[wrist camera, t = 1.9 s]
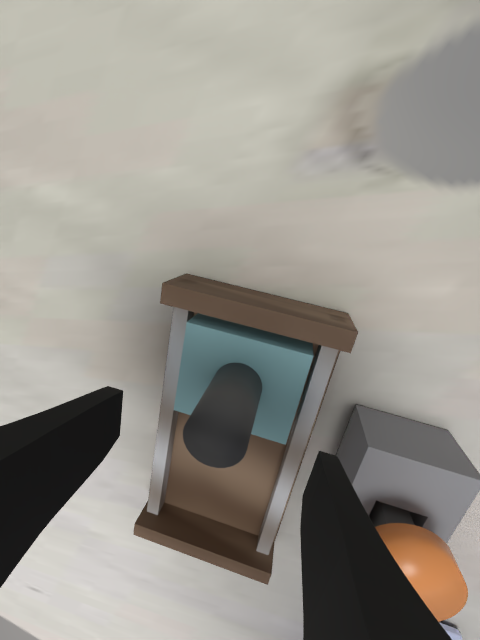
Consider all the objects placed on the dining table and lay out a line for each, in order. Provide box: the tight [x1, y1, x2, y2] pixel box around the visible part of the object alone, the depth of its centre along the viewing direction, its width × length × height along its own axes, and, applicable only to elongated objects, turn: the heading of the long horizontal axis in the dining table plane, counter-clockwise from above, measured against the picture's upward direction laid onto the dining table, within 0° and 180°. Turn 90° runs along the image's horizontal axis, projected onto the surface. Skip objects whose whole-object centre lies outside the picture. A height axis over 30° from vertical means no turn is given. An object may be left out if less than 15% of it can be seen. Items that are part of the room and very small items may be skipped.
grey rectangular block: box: [336, 404, 480, 543], centre depth 16 cm, size 8×5×4 cm, turn 169°
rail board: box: [134, 274, 358, 585], centre depth 17 cm, size 17×9×3 cm, turn 169°
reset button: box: [369, 501, 468, 622], centre depth 14 cm, size 4×4×4 cm
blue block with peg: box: [174, 313, 314, 468], centre depth 13 cm, size 5×6×6 cm
